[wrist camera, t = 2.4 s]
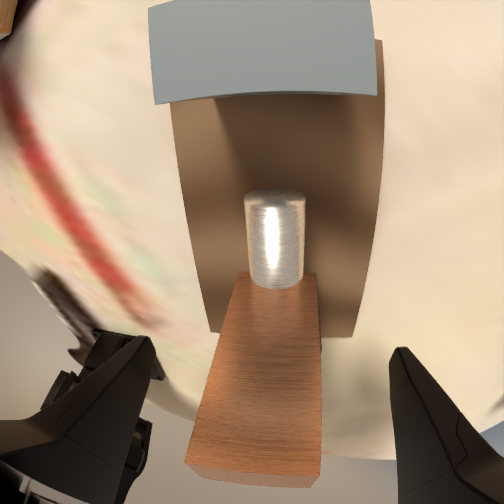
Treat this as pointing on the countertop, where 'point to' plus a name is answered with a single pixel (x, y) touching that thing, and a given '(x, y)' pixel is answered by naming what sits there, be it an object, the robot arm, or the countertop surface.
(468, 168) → the countertop surface
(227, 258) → the base plate
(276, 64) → the socket
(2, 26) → the small box
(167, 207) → the countertop surface
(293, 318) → the sliding bolt with handle
